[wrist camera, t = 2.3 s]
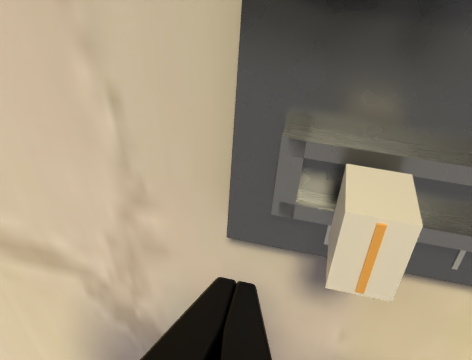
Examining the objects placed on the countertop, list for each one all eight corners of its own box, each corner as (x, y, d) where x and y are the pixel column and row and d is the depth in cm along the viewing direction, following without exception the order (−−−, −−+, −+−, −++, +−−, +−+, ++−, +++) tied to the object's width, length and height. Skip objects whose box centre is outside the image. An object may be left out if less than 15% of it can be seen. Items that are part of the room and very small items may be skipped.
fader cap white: (406, 148, 18) (423, 227, 13) (384, 216, 20) (392, 303, 16) (346, 138, 18) (345, 213, 14) (330, 206, 20) (325, 289, 16)
